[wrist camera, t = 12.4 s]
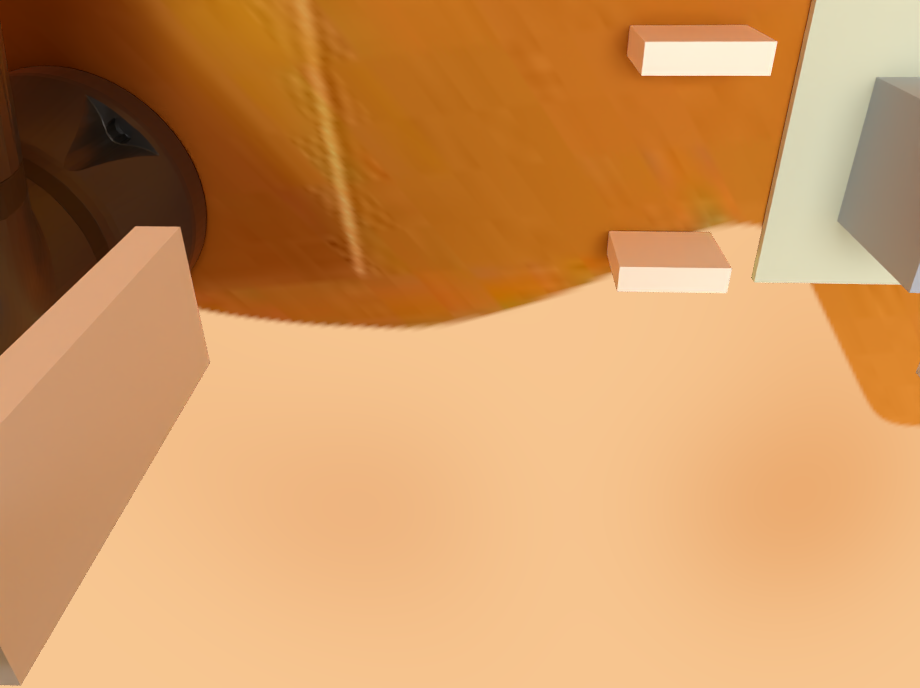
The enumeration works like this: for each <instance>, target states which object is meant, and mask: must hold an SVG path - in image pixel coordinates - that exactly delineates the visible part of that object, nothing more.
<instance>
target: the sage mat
mask: <svg viewBox="0 0 920 688" xmlns="http://www.w3.org/2000/svg"><path fill="white" fill-rule="evenodd" d="M876 77H920V0H812V2H811V6H810V11H809V15H808V20H807V25H806V29H805V34H804V38H803V43H802V48H801V52H800V57H799V61H798V66H797V71H796V75H795V80H794V84H793V89H792V94H791V98H790V103H789V107H788V112H787V117H786V121H785V126H784V130H783V135H782V140H781V144H780V149H779V153H778V158H777V163H776V167H775V172H774V176H773V181H772V186H771V190H770V195H769V199H768V204H767V209H766V213H765V218H764V222H763V227H762V232H761V236H760V241H759V245H758V250H757V255H756V260H755V264H754V268H753V273H752V277H751V278H752V280H753V281H754V282H769V283H771V282H772V283H837V284H900V283H899V282H898V281H897V280H896V279H895V278H894V277H893V276H892V275H891V274H890V273H889V272H888V271H887V270H886V269H885V268H884V267H883V266H882V265H881V264H880V263H879V262H878V261H877V260H876V259H875V258H874V257H873V256H872V255H871V254H870V253H869V252H868V251H867V250H866V249H865V248H864V247H863V246H862V245H861V244H860V243H859V242H858V241H857V240H856V239H855V238H854V237H853V236H852V235H851V234H850V233H849V232H848V231H847V230H846V229H845V228H844V227H843V226H842V225H841V224H840V223H839V222H838V221H837V220H838V216H839V212H840V209H841V205H842V201H843V198H844V194H845V190H846V187H847V183H848V179H849V176H850V172H851V168H852V165H853V161H854V157H855V154H856V150H857V146H858V143H859V139H860V135H861V132H862V128H863V124H864V121H865V117H866V113H867V110H868V106H869V102H870V99H871V95H872V91H873V88H874V84H875V80H876Z"/></svg>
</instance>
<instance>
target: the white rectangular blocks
mask: <svg viewBox="0 0 920 688" xmlns="http://www.w3.org/2000/svg"><path fill="white" fill-rule="evenodd" d="M776 46H777V41H775V40H774V39H772V38H770V37H768V36H766V35H765V34H763V33H761V32H759V31H757V30H756V29H754V28H752V27H750V26H748V25H630V30H629V40H628V50H627V57H628V58H629V59H630V61H631V62H632V63H633V65H634V66H635V67H636V69H637V70H638V72H639V73H640V74H641V76H771V71H772V66H773V61H774V56H775V51H776ZM607 257H608V260H609V264H610V267H611V271H612V275H613V278H614V282H615V286H616V289H617V291H627V292H628V291H629V292H630V291H631V292H693V293H697V292H698V293H727V290H728V285H729V279H730V275H731V270H732V268H731V266H730V265H729V263H728V261H727V259H726V258H725V256H724V254H723V253H722V251H721V249H720V248H719V246H718V244H717V243H716V241H715V239H714V238H713V236H712V234H711V233H710V232H654V231H609V237H608V246H607Z"/></svg>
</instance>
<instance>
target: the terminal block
mask: <svg viewBox="0 0 920 688" xmlns="http://www.w3.org/2000/svg"><path fill="white" fill-rule="evenodd" d="M837 221H838V222H839V223H840V224H841V225H842V226H843V227H844V228H845V229H846V230H847V231H848V232H849V233H850V234H851V235H852V236H853V237H854V238H855V239H856V240H857V241H858V242H859V243H860V244H861V245H862V246H863V247H864V248H865V249H866V250H867V251H868V252H869V253H870V254H871V255H872V256H873V257H874V258H875V259H876V260H877V261H878V262H879V263H880V264H881V265H882V266H883V267H884V268H885V269H886V270H887V271H888V272H889V273H890V274H891V275H892V276H893V277H894V278H895V279H896V280H897V281H898V282H899V283H900V284H901V285H902V286H903V287H904V288H905V289H906V290H907V291H908V292H909V293H920V77H876V80H875V84H874V88H873V91H872V95H871V99H870V102H869V106H868V110H867V113H866V117H865V121H864V124H863V128H862V132H861V135H860V139H859V143H858V146H857V150H856V154H855V157H854V161H853V165H852V168H851V172H850V176H849V179H848V183H847V187H846V190H845V194H844V198H843V201H842V205H841V209H840V212H839V216H838V220H837Z"/></svg>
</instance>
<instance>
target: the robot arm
mask: <svg viewBox="0 0 920 688" xmlns="http://www.w3.org/2000/svg"><path fill="white" fill-rule="evenodd" d="M205 233H206V205H205V199H204V194H203V190H202V186H201V183H200V180H199V177H198V174H197V172H196V169H195V167H194V165H193V163H192V161H191V159H190V157H189V155H188V154H187V152H186V150H185V149H184V147H183V146H182V144H181V142H180V141H179V140H178V138H177V137H176V136H175V134H174V133H173V132H172V131H171V129H170V128H169V127H168V126H167V125H166V124H165V123H164V121H163V120H162V119H161V118H160V117H159V116H158V115H157V114H156V113H155V112H154V111H152V110H151V109H150V108H149V107H148V106H147V105H145V104H144V103H143V102H142V101H140V100H139V99H138V98H136V97H135V96H133V95H132V94H130V93H129V92H127V91H126V90H124V89H123V88H121V87H119V86H117V85H116V84H113V83H111V82H109V81H107V80H105V79H103V78H101V77H98V76H96V75H93V74H90V73H87V72H84V71H80V70H76V69H71V68H66V67H58V66H32V67H25V68H20V69H16V70H13V71H10V72H9V71H8V65H7V59H6V53H5V47H4V41H3V35H2V29H1V23H0V685H21V684H22V683H23V681H24V679H25V677H26V676H27V674H28V672H29V670H30V669H31V667H32V666H33V664H34V662H35V660H36V659H37V657H38V655H39V654H40V652H41V650H42V648H43V647H44V645H45V643H46V642H47V640H48V638H49V637H50V635H51V633H52V631H53V630H54V628H55V626H56V625H57V623H58V621H59V619H60V618H61V616H62V614H63V613H64V611H65V609H66V607H67V606H68V604H69V602H70V601H71V599H72V597H73V596H74V594H75V592H76V590H77V589H78V587H79V585H80V584H81V582H82V580H83V579H84V577H85V575H86V573H87V572H88V570H89V568H90V566H91V565H92V563H93V561H94V560H95V558H96V556H97V555H98V553H99V551H100V549H101V548H102V546H103V544H104V543H105V541H106V539H107V538H108V536H109V534H110V532H111V531H112V529H113V527H114V526H115V524H116V522H117V520H118V519H119V517H120V515H121V514H122V512H123V510H124V509H125V507H126V505H127V503H128V502H129V500H130V498H131V497H132V495H133V493H134V492H135V490H136V488H137V486H138V485H139V483H140V481H141V480H142V478H143V476H144V474H145V473H146V471H147V469H148V468H149V466H150V464H151V463H152V461H153V459H154V457H155V456H156V454H157V452H158V451H159V449H160V447H161V445H162V444H163V442H164V440H165V439H166V437H167V435H168V434H169V432H170V430H171V428H172V427H173V425H174V423H175V422H176V420H177V418H178V416H179V415H180V413H181V411H182V410H183V408H184V406H185V405H186V403H187V401H188V399H189V397H190V396H191V394H192V393H193V391H194V389H195V388H196V386H197V384H198V382H199V381H200V379H201V377H202V376H203V374H204V372H205V370H206V369H207V367H208V365H209V364H210V361H209V356H208V352H207V347H206V343H205V338H204V333H203V329H202V324H201V320H200V315H199V310H198V306H197V301H196V297H195V292H194V288H193V283H192V278H191V274H190V271H191V269H192V268H193V267H194V265H195V263H196V261H197V259H198V257H199V255H200V253H201V250H202V247H203V243H204V239H205ZM916 373H917V375H918V376H919V377H920V363H919V366H918V368H917V371H916Z"/></svg>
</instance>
